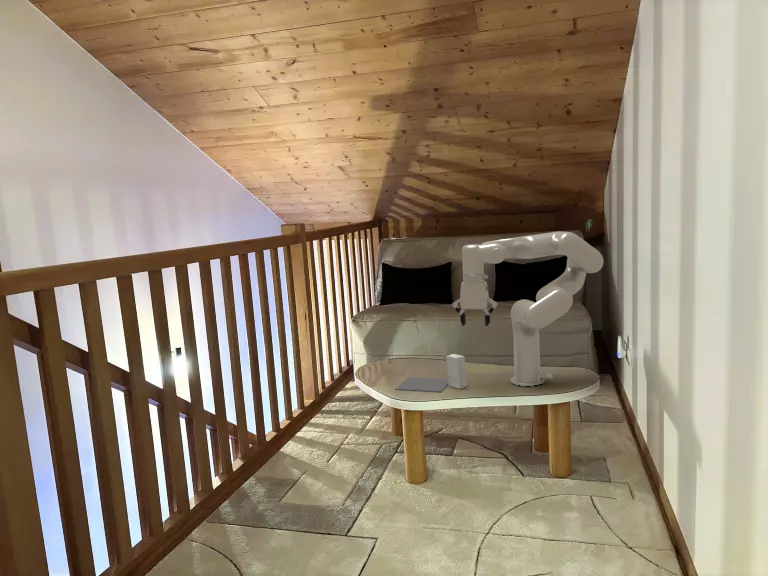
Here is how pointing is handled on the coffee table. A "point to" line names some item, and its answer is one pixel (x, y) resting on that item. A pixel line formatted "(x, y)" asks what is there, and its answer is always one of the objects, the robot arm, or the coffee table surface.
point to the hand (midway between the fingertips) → (475, 324)
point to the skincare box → (456, 371)
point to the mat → (423, 384)
